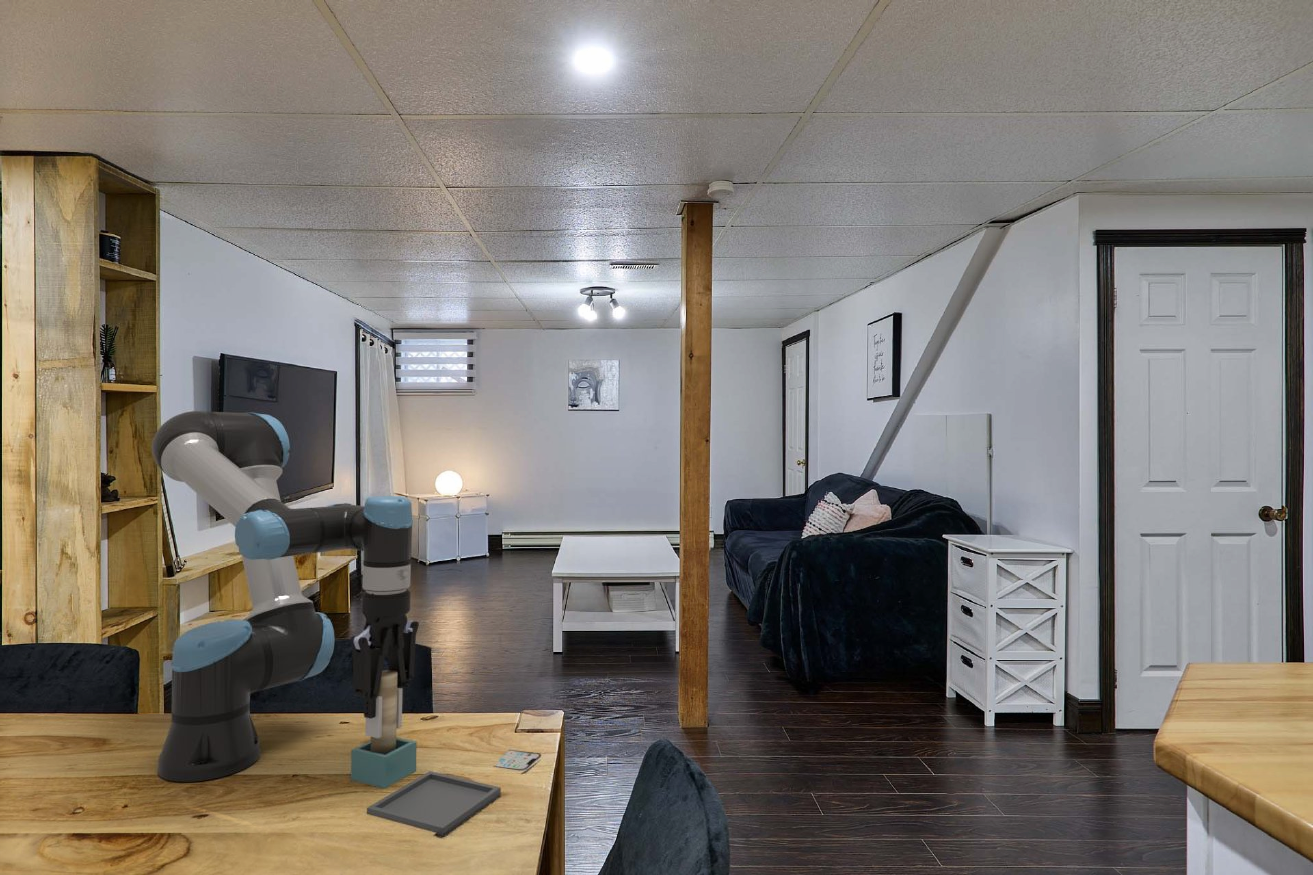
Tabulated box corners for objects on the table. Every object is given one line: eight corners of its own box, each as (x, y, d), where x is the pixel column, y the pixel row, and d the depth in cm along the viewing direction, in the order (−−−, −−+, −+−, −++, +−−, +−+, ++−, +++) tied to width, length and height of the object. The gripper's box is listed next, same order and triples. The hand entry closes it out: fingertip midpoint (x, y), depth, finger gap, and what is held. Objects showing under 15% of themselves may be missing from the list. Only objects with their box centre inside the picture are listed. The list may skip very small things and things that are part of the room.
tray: (366, 817, 114) (366, 807, 114) (429, 779, 126) (429, 771, 126) (442, 838, 108) (442, 828, 108) (500, 796, 121) (500, 787, 121)
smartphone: (468, 744, 140) (543, 753, 136) (468, 750, 140) (543, 759, 136) (446, 761, 133) (523, 770, 129) (446, 767, 133) (523, 777, 129)
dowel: (364, 772, 126) (366, 675, 126) (382, 763, 129) (384, 668, 129) (383, 777, 124) (385, 678, 124) (400, 768, 128) (402, 672, 128)
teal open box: (350, 783, 125) (351, 749, 125) (382, 766, 131) (383, 734, 131) (384, 792, 122) (385, 757, 122) (416, 774, 128) (416, 741, 128)
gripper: (365, 602, 117) (362, 754, 117) (438, 583, 133) (435, 718, 133) (329, 597, 120) (326, 745, 120) (404, 579, 136) (402, 711, 136)
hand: (383, 730), depth 127 cm, fingers closed on dowel, 4 cm apart
